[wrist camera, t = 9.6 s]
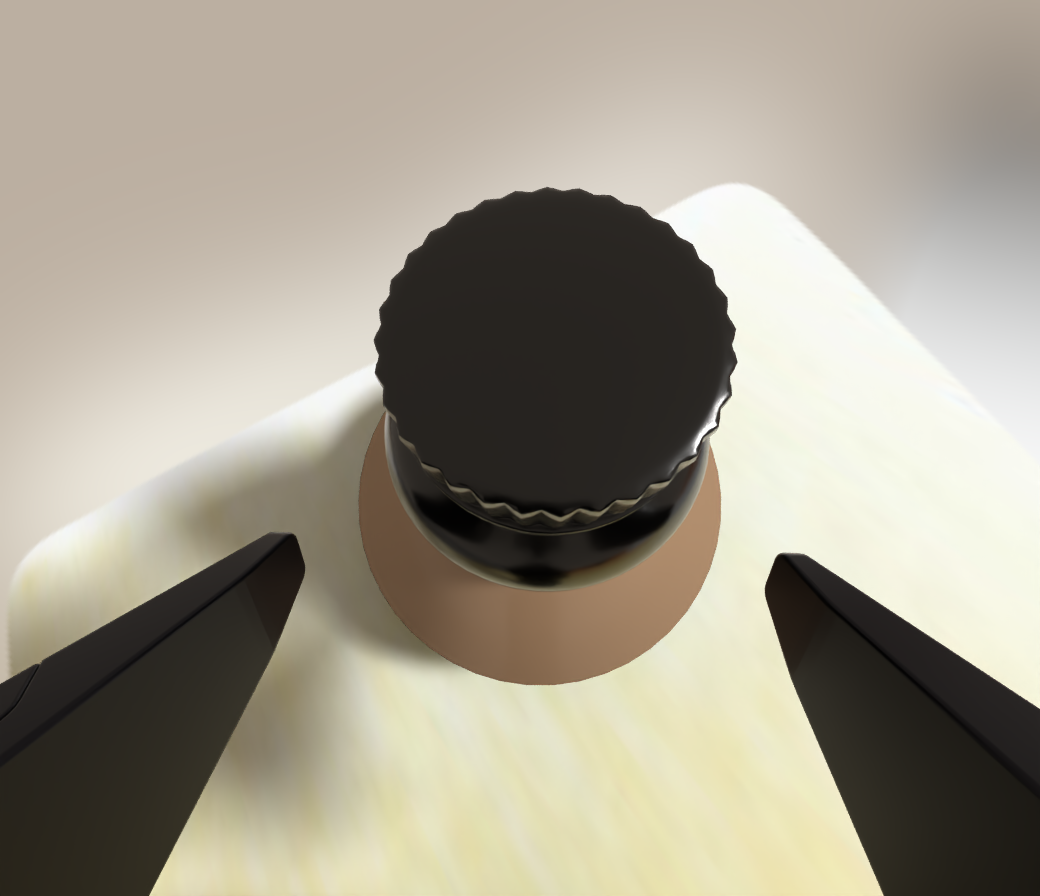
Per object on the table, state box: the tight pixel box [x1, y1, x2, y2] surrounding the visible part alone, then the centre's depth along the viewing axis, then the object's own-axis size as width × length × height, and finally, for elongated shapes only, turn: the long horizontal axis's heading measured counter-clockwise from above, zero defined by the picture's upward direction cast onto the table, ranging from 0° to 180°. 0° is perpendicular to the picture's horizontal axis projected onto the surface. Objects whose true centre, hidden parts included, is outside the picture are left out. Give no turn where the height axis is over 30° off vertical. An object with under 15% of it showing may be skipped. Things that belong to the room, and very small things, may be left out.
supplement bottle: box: [374, 187, 737, 592], centre depth 12 cm, size 7×7×12 cm
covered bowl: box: [359, 411, 721, 685], centre depth 20 cm, size 14×14×4 cm
